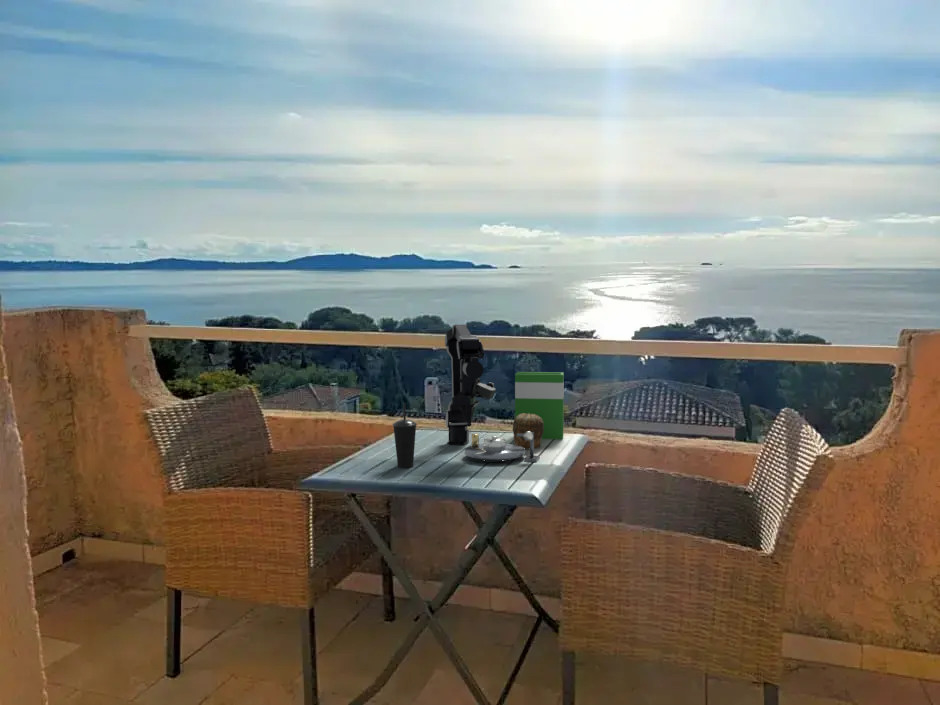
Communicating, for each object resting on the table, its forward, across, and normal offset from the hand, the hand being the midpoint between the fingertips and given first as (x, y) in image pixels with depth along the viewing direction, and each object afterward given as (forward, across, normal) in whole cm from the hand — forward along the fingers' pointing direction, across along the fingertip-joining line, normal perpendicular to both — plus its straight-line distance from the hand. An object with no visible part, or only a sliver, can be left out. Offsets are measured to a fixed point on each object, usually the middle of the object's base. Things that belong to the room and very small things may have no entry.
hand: (469, 422), depth 242 cm
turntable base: (+12, +3, -8) cm, 14 cm away
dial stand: (+12, +3, -19) cm, 22 cm away
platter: (+10, +3, -8) cm, 13 cm away
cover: (+9, +3, -8) cm, 12 cm away
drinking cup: (+12, -16, +16) cm, 26 cm away
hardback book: (+12, +41, -15) cm, 45 cm away
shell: (+12, +22, -15) cm, 29 cm away
